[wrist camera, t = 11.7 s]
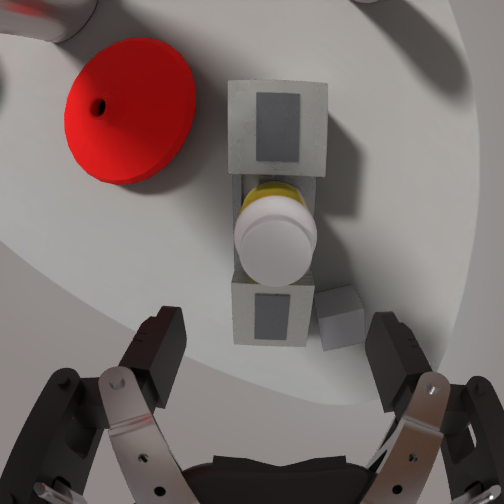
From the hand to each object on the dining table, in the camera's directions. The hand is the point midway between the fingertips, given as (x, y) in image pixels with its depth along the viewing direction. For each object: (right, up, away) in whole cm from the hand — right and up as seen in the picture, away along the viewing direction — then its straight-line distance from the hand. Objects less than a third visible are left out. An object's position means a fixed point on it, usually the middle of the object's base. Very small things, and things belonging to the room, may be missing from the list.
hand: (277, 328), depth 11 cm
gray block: (+9, -3, +22) cm, 24 cm away
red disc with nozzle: (-14, +18, +14) cm, 27 cm away
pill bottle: (+1, +8, +17) cm, 18 cm away
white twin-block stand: (+1, +8, +17) cm, 19 cm away
